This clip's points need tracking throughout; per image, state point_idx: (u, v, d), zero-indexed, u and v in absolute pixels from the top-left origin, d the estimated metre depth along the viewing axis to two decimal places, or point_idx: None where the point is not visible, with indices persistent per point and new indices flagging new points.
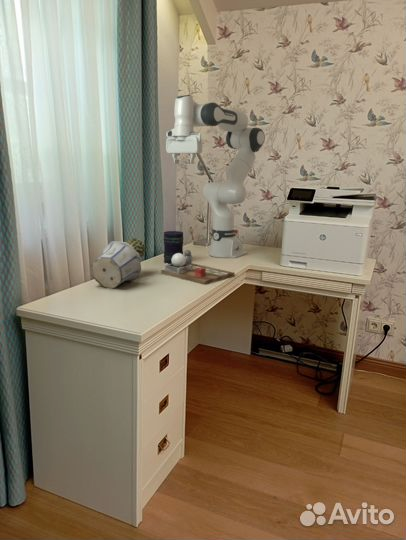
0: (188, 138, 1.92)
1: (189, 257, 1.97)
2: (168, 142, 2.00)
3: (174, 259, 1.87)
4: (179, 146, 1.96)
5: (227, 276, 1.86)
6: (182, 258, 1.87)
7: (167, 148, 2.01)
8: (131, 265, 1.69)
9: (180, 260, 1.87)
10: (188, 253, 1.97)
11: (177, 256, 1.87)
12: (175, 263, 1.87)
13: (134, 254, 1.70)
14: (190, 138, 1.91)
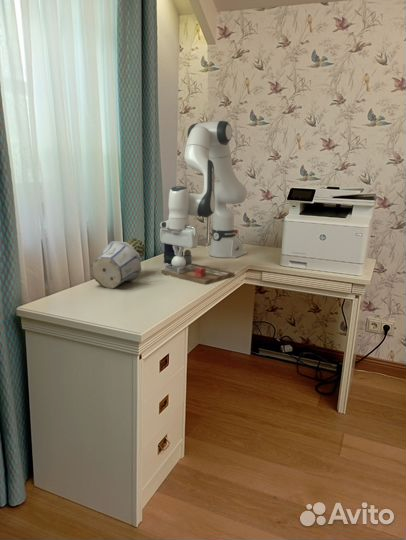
0: (183, 232, 1.82)
1: (189, 257, 1.97)
2: (162, 232, 1.91)
3: (174, 261, 1.87)
4: (173, 238, 1.87)
5: (227, 276, 1.86)
6: (182, 260, 1.88)
7: (161, 238, 1.92)
8: (131, 265, 1.69)
9: (180, 262, 1.87)
10: (188, 253, 1.97)
11: (177, 258, 1.87)
12: (175, 265, 1.88)
13: (134, 254, 1.70)
14: (185, 232, 1.82)
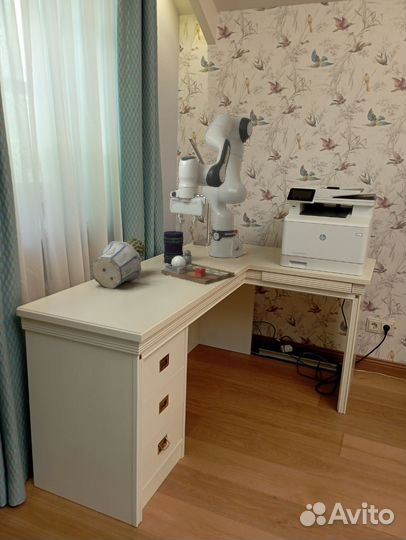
0: (192, 200, 1.88)
1: (189, 257, 1.97)
2: (172, 202, 1.96)
3: (174, 262, 1.88)
4: (183, 207, 1.92)
5: (227, 276, 1.86)
6: (182, 261, 1.88)
7: (171, 208, 1.97)
8: (131, 265, 1.69)
9: (180, 263, 1.87)
10: (188, 253, 1.96)
11: (177, 259, 1.87)
12: (175, 266, 1.88)
13: (134, 254, 1.70)
14: (195, 201, 1.87)
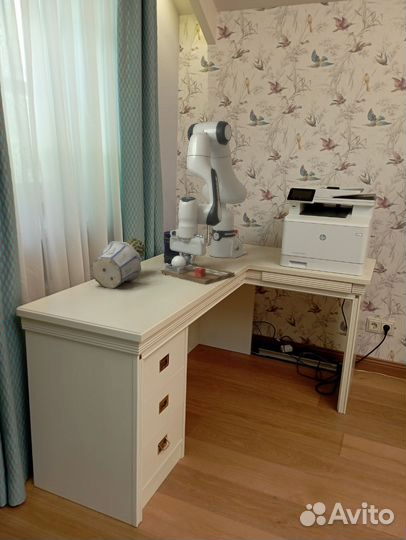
0: (192, 240, 1.92)
1: (189, 257, 1.97)
2: (172, 240, 2.00)
3: (174, 262, 1.88)
4: (183, 246, 1.97)
5: (227, 276, 1.86)
6: (182, 261, 1.88)
7: (171, 245, 2.02)
8: (131, 265, 1.69)
9: (180, 263, 1.87)
10: None
11: (177, 259, 1.87)
12: (175, 266, 1.88)
13: (134, 254, 1.70)
14: (194, 241, 1.91)
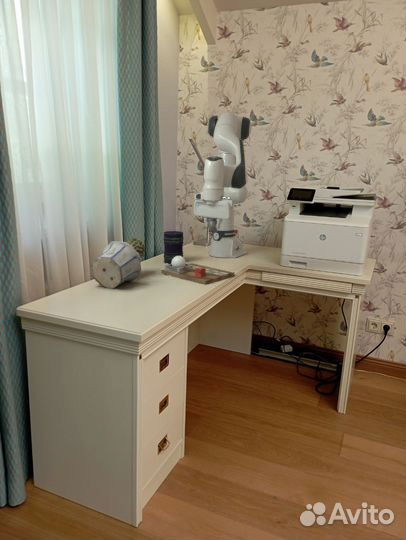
0: (219, 203, 1.78)
1: (214, 222, 1.83)
2: (196, 204, 1.87)
3: (174, 262, 1.88)
4: (208, 210, 1.83)
5: (227, 276, 1.86)
6: (182, 261, 1.88)
7: (195, 210, 1.88)
8: (131, 265, 1.69)
9: (180, 263, 1.87)
10: (213, 218, 1.83)
11: (177, 259, 1.87)
12: (175, 266, 1.88)
13: (134, 254, 1.70)
14: (221, 203, 1.78)
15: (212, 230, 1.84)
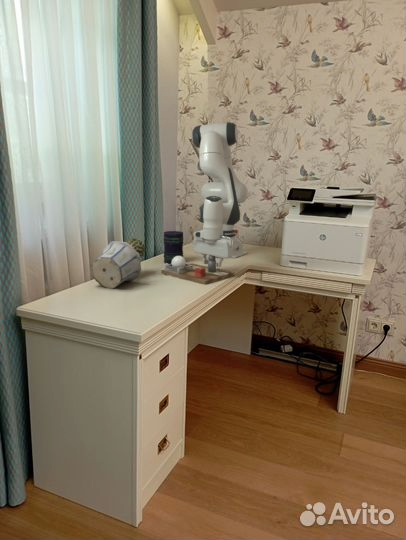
0: (218, 242, 1.82)
1: (213, 262, 1.87)
2: (196, 242, 1.90)
3: (174, 262, 1.88)
4: (208, 248, 1.87)
5: (227, 276, 1.86)
6: (182, 261, 1.88)
7: (194, 247, 1.92)
8: (131, 265, 1.69)
9: (180, 263, 1.87)
10: (212, 258, 1.87)
11: (177, 259, 1.87)
12: (175, 266, 1.88)
13: (134, 254, 1.70)
14: (220, 242, 1.81)
15: (211, 270, 1.88)
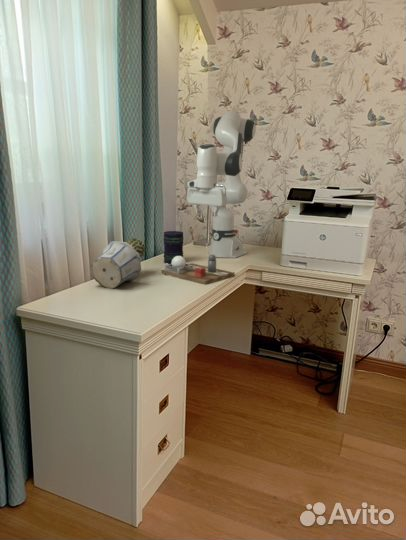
0: (212, 190, 1.82)
1: (213, 262, 1.87)
2: (190, 192, 1.90)
3: (174, 262, 1.88)
4: (202, 197, 1.86)
5: (227, 276, 1.86)
6: (182, 261, 1.88)
7: (188, 198, 1.91)
8: (131, 265, 1.69)
9: (180, 263, 1.87)
10: (212, 258, 1.87)
11: (177, 259, 1.87)
12: (175, 266, 1.88)
13: (134, 254, 1.70)
14: (214, 190, 1.81)
15: (211, 270, 1.88)
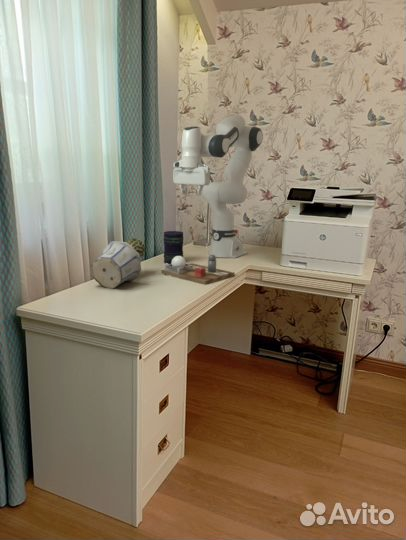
0: (196, 170, 1.90)
1: (213, 262, 1.87)
2: (175, 173, 1.99)
3: (174, 262, 1.88)
4: (186, 177, 1.95)
5: (227, 276, 1.86)
6: (182, 261, 1.88)
7: (174, 178, 2.00)
8: (131, 265, 1.69)
9: (180, 263, 1.87)
10: (212, 258, 1.87)
11: (177, 259, 1.87)
12: (175, 266, 1.88)
13: (134, 254, 1.70)
14: (198, 170, 1.90)
15: (211, 270, 1.88)
